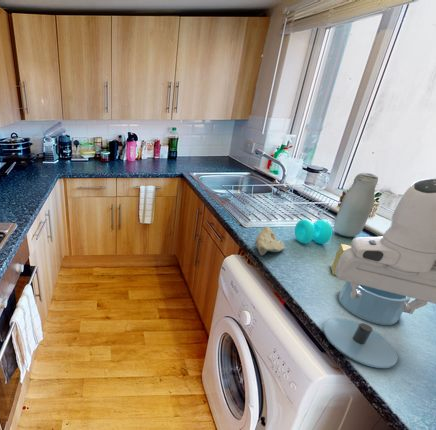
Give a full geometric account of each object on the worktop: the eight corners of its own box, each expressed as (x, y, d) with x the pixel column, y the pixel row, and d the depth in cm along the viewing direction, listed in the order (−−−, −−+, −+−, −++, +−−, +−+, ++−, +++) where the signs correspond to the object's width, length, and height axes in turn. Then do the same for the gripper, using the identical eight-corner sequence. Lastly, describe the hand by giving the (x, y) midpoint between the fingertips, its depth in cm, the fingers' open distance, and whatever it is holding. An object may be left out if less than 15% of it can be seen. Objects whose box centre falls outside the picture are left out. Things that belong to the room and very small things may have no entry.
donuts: (290, 235, 124) (297, 215, 120) (314, 236, 124) (321, 215, 120) (303, 247, 115) (311, 225, 111) (328, 248, 115) (337, 226, 111)
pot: (390, 301, 87) (402, 279, 83) (404, 332, 76) (419, 307, 73) (336, 287, 93) (345, 265, 89) (342, 313, 82) (353, 289, 79)
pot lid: (386, 335, 75) (395, 319, 73) (404, 381, 63) (416, 363, 61) (320, 314, 82) (326, 298, 79) (325, 352, 70) (333, 335, 68)
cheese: (267, 245, 120) (244, 224, 117) (284, 238, 116) (260, 216, 112) (270, 274, 110) (245, 252, 106) (289, 267, 105) (263, 244, 101)
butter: (344, 270, 101) (355, 246, 97) (346, 278, 97) (357, 253, 93) (330, 267, 103) (340, 243, 99) (332, 274, 99) (342, 249, 95)
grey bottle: (351, 231, 130) (375, 171, 118) (363, 241, 121) (391, 178, 109) (326, 228, 132) (348, 169, 120) (336, 238, 123) (361, 176, 111)
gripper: (466, 260, 59) (434, 311, 65) (345, 236, 68) (326, 283, 74) (482, 276, 54) (446, 330, 60) (349, 248, 63) (329, 297, 69)
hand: (379, 304), depth 67 cm, fingers open, 8 cm apart
